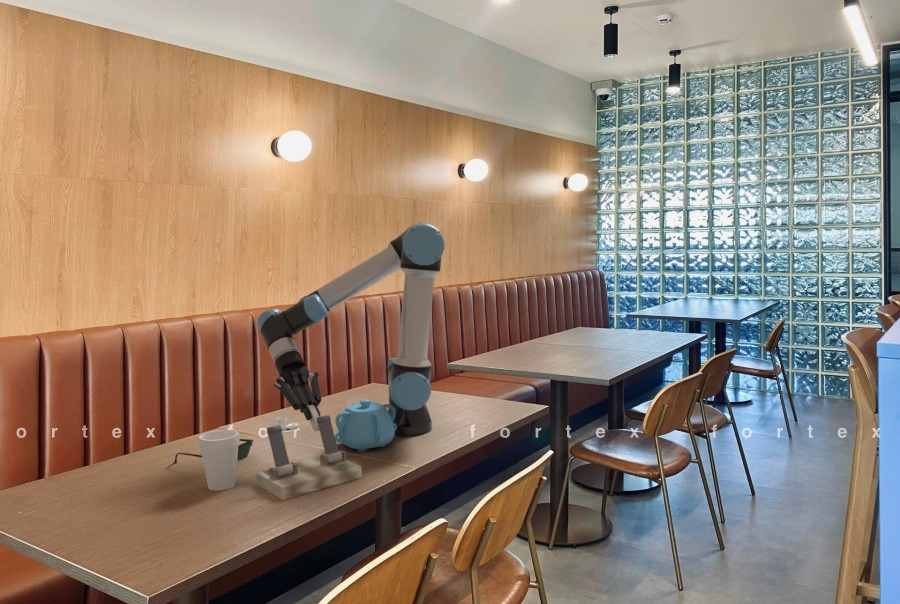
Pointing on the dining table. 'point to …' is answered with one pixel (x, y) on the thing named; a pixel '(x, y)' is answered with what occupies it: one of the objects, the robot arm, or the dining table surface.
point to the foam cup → (220, 458)
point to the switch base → (309, 476)
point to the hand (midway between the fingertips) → (318, 428)
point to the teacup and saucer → (282, 423)
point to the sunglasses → (242, 450)
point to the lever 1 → (279, 451)
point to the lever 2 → (328, 439)
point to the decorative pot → (366, 425)
